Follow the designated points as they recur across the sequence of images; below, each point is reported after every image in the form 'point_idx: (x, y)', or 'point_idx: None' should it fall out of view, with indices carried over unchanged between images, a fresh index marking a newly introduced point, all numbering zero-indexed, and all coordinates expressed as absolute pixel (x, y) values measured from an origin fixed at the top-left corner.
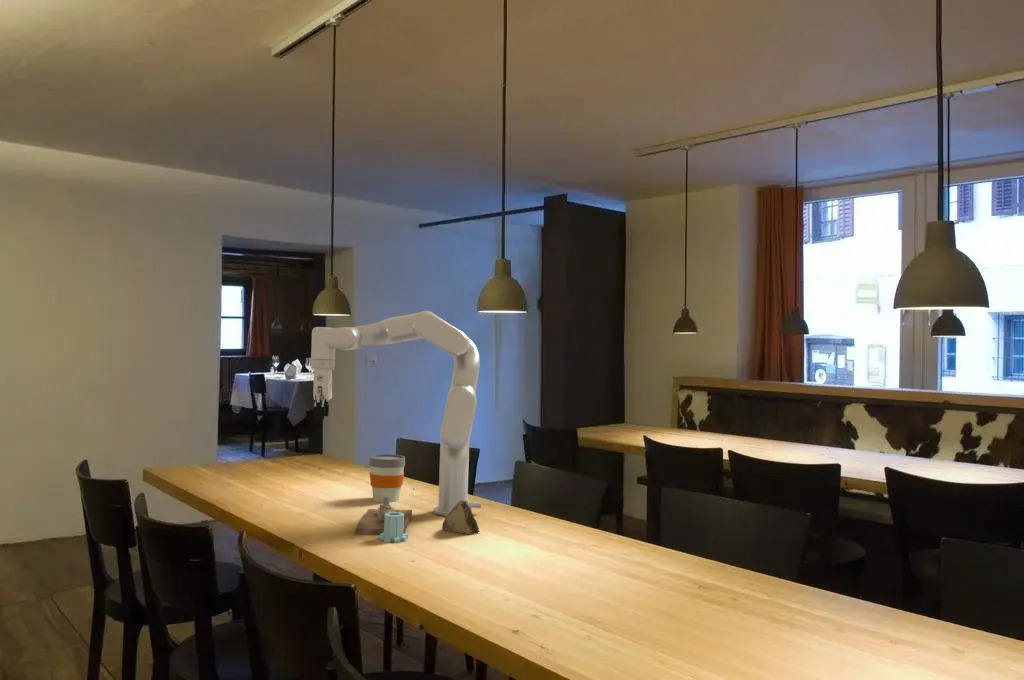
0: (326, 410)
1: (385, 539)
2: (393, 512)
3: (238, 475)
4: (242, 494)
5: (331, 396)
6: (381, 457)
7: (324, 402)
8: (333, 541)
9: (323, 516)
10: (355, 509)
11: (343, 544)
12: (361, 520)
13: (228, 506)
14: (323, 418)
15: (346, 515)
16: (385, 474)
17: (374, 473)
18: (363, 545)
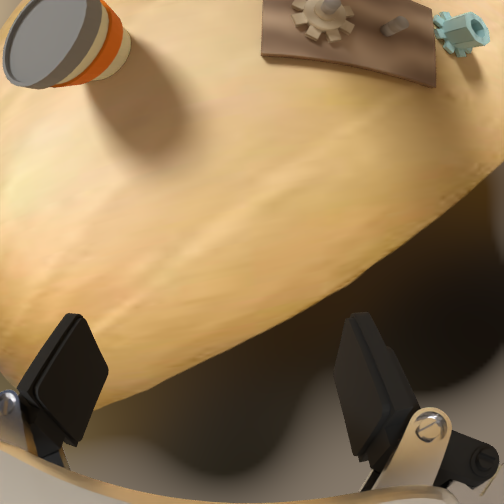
0: (66, 360)
1: (470, 51)
2: (468, 25)
3: (26, 355)
4: (121, 342)
5: (35, 496)
6: (21, 61)
7: (43, 433)
8: (467, 129)
9: (295, 155)
10: (214, 91)
11: (479, 115)
12: (379, 68)
13: (216, 345)
14: (367, 316)
15: (282, 103)
16: (107, 24)
17: (92, 59)
18: (482, 87)
